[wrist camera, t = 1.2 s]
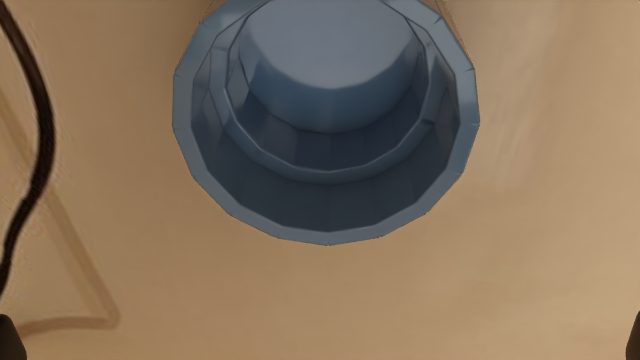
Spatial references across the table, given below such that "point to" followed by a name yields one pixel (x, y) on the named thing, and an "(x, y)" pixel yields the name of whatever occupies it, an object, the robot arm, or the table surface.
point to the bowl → (326, 113)
